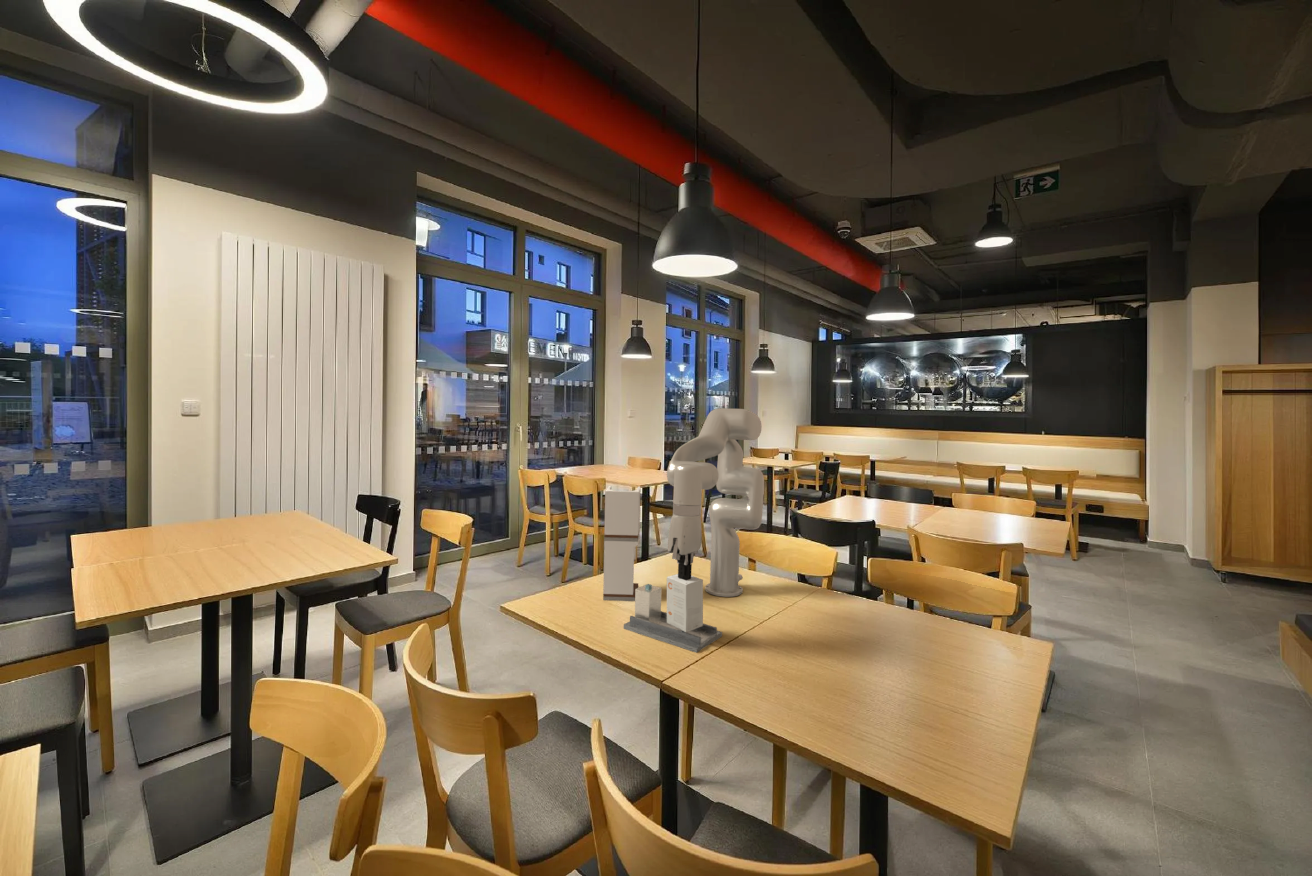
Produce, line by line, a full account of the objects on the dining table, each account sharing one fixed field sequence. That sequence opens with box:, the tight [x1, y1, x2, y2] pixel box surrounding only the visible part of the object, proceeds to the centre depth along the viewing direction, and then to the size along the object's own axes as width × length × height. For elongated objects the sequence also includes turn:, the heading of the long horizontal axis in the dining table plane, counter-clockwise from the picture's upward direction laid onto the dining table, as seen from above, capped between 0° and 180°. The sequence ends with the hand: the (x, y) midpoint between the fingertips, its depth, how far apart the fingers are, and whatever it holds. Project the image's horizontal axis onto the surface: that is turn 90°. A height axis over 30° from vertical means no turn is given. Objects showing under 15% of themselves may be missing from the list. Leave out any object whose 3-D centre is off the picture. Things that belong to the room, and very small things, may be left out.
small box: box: [666, 573, 704, 632], centre depth 151 cm, size 8×6×13 cm
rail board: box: [623, 583, 723, 654], centre depth 154 cm, size 13×24×12 cm, turn 54°
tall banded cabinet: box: [602, 485, 641, 602], centre depth 183 cm, size 11×11×35 cm
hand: (684, 578), depth 150 cm, fingers closed
